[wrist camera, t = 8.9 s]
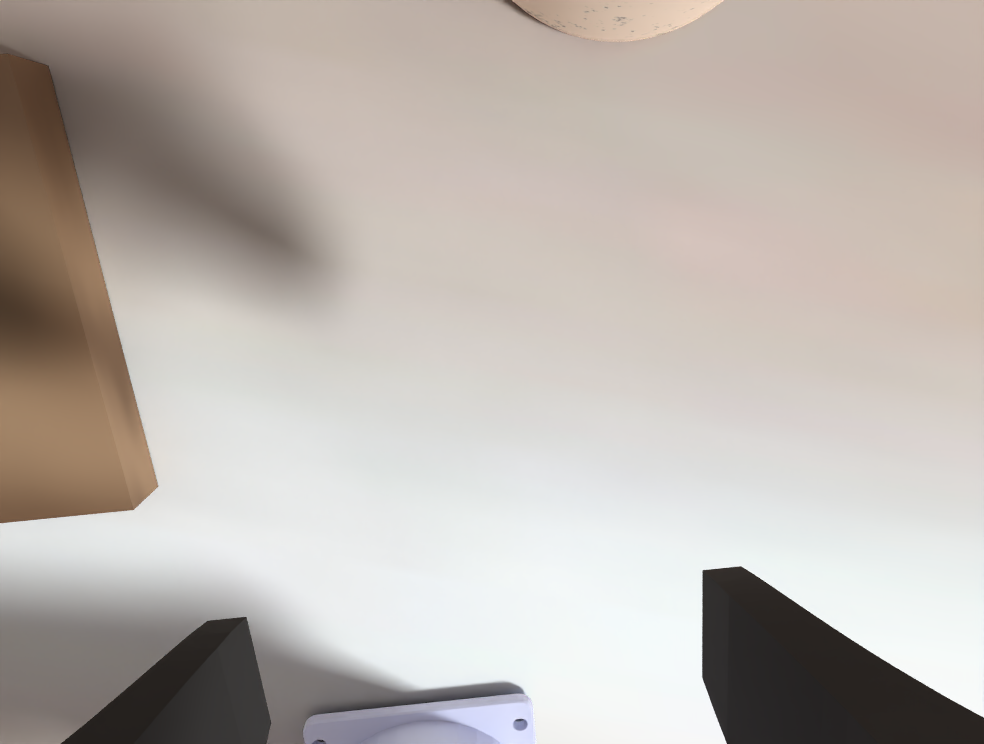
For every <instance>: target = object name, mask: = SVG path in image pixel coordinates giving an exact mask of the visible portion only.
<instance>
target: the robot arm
mask: <svg viewBox="0 0 984 744" xmlns="http://www.w3.org/2000/svg"><path fill="white" fill-rule="evenodd" d="M702 678H703V681H704V683H705V686H706V689H707V692H708V695H709V697H710V700H711V703H712V706H713V708H714V711H715V714H716V716H717V719H718V722H719V724H720V727H721V729H722V732H723V735H724V737H725V740H726V742H727V744H984V718H983V717H982V716H980V715H978V714H976V713H974V712H972V711H970V710H968V709H967V708H965V707H963V706H961V705H959V704H957V703H956V702H954V701H952V700H950V699H948V698H947V697H945V696H943V695H941V694H940V693H938V692H936V691H935V690H933V689H931V688H929V687H928V686H926V685H924V684H923V683H921V682H919V681H918V680H916V679H914V678H912V677H911V676H909V675H907V674H906V673H904V672H902V671H901V670H899V669H897V668H895V667H894V666H892V665H891V664H889V663H887V662H886V661H884V660H882V659H881V658H879V657H878V656H876V655H874V654H873V653H871V652H870V651H868V650H866V649H865V648H863V647H862V646H860V645H859V644H857V643H855V642H854V641H852V640H851V639H849V638H848V637H846V636H845V635H843V634H842V633H840V632H839V631H837V630H835V629H834V628H832V627H831V626H829V625H828V624H826V623H825V622H823V621H822V620H820V619H819V618H817V617H816V616H814V615H813V614H811V613H810V612H809V611H807V610H806V609H804V608H803V607H801V606H800V605H798V604H797V603H795V602H794V601H792V600H791V599H789V598H788V597H786V596H785V595H784V594H782V593H781V592H779V591H778V590H776V589H775V588H773V587H772V586H770V585H769V584H767V583H766V582H764V581H763V580H761V579H760V578H758V577H757V576H755V575H754V574H752V573H751V572H749V571H748V570H746V569H744V568H743V567H741V566H740V567H731V568H721V569H711V570H703V627H702ZM519 718H520V719H525V720H523V721H520V722H519V721H515V720H516V719H519ZM270 725H271V720H270V716H269V712H268V708H267V703H266V699H265V695H264V690H263V686H262V682H261V678H260V673H259V669H258V665H257V660H256V656H255V652H254V648H253V643H252V639H251V635H250V630H249V626H248V622H247V618H246V617H241V618H231V619H222V620H212V621H207V622H206V623H204V624H203V625H202V626H200V627H199V628H198V629H196V630H195V631H194V632H193V633H191V634H190V635H189V636H188V637H187V638H185V639H184V640H183V641H182V642H181V643H179V644H178V645H177V646H176V647H175V648H174V649H172V650H171V651H170V652H169V653H168V654H167V655H165V656H164V657H163V658H162V659H161V660H160V661H158V662H157V663H156V664H155V665H154V666H153V667H151V668H150V669H149V670H148V671H147V672H146V673H145V674H143V675H142V676H141V677H140V678H139V679H138V680H136V681H135V682H134V683H133V684H132V685H131V686H129V687H128V688H127V689H126V690H125V691H124V692H122V693H121V694H120V695H119V696H118V697H117V698H115V699H114V700H113V701H112V702H111V703H109V704H108V705H107V706H106V707H105V708H104V709H102V710H101V711H100V712H99V713H98V714H97V715H95V716H94V717H93V718H92V719H91V720H90V721H88V722H87V723H86V724H85V725H84V726H82V727H81V728H80V729H79V730H77V731H76V732H75V733H74V734H72V735H71V736H70V737H69V738H67V739H66V740H65V741H64V742H62V743H61V744H266V742H267V738H268V734H269V729H270ZM303 737H304V742H305V744H536V734H535V723H534V712H533V704H532V701H531V699H530V698H529V697H528V696H527V695H524V694H508V695H498V696H489V697H479V698H470V699H460V700H450V701H441V702H431V703H422V704H412V705H402V706H393V707H383V708H374V709H364V710H354V711H345V712H335V713H326V714H317V715H313V716H311V717H309V718H308V719H307V721H306V722H305V725H304V728H303ZM317 740H323V741H325V742H319V741H317Z"/></svg>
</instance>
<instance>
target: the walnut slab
mask: <svg viewBox="0 0 984 744" xmlns="http://www.w3.org/2000/svg"><path fill="white" fill-rule="evenodd" d="M157 487H158V484H157V480H156V476H155V472H154V469H153V465H152V461H151V457H150V453H149V449H148V446H147V442H146V438H145V434H144V430H143V427H142V423H141V419H140V415H139V411H138V407H137V404H136V400H135V396H134V392H133V388H132V384H131V381H130V377H129V373H128V369H127V365H126V362H125V358H124V354H123V350H122V346H121V342H120V339H119V335H118V331H117V327H116V323H115V319H114V316H113V312H112V308H111V304H110V300H109V296H108V293H107V289H106V285H105V281H104V277H103V274H102V270H101V266H100V262H99V258H98V254H97V251H96V247H95V243H94V239H93V235H92V231H91V228H90V224H89V220H88V216H87V212H86V208H85V205H84V201H83V197H82V193H81V189H80V186H79V182H78V178H77V174H76V170H75V166H74V163H73V159H72V155H71V151H70V147H69V143H68V140H67V136H66V132H65V128H64V124H63V121H62V117H61V113H60V109H59V105H58V101H57V98H56V94H55V90H54V86H53V82H52V78H51V75H50V71H49V67H48V66H47V65H43V64H40V63H37V62H34V61H30V60H27V59H24V58H20V57H17V56H14V55H11V54H0V523H7V522H17V521H27V520H37V519H47V518H57V517H67V516H77V515H87V514H97V513H107V512H117V511H127V510H134V509H135V508H136V507H137V506H138V505H139V504H140V503H141V502H142V501H143V500H144V499H146V498H147V497H148V496H149V495H150V494H151V493H152V492H153V491H154V490H155V489H156V488H157Z"/></svg>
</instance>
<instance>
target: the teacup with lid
mask: <svg viewBox="0 0 984 744" xmlns="http://www.w3.org/2000/svg"><path fill="white" fill-rule="evenodd" d="M512 1H513V2H514V3H516V4H517V5H518V6H519V7H521V8H522V9H523V10H524V11H525V12H527V13H528V14H530V15H531V16H533V17H534V18H536V19H537V20H539V21H541V22H543V23H545V24H547V25H548V26H550V27H552V28H554V29H557V30H559V31H562V32H564V33H567V34H570V35H573V36H577V37H581V38H584V39H590V40H597V41H609V42H623V41H635V40H641V39H647V38H651V37H655V36H658V35H662V34H665V33H668V32H670V31H673V30H675V29H678V28H680V27H683V26H685V25H687V24H688V23H690V22H692V21H694V20H696V19H698V18H699V17H701V16H702V15H704V14H706V13H707V12H709V11H710V10H712V9H713V8H714V7H716V6H717V5H718V4H720V3H721V2H722V1H724V0H512Z"/></svg>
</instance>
